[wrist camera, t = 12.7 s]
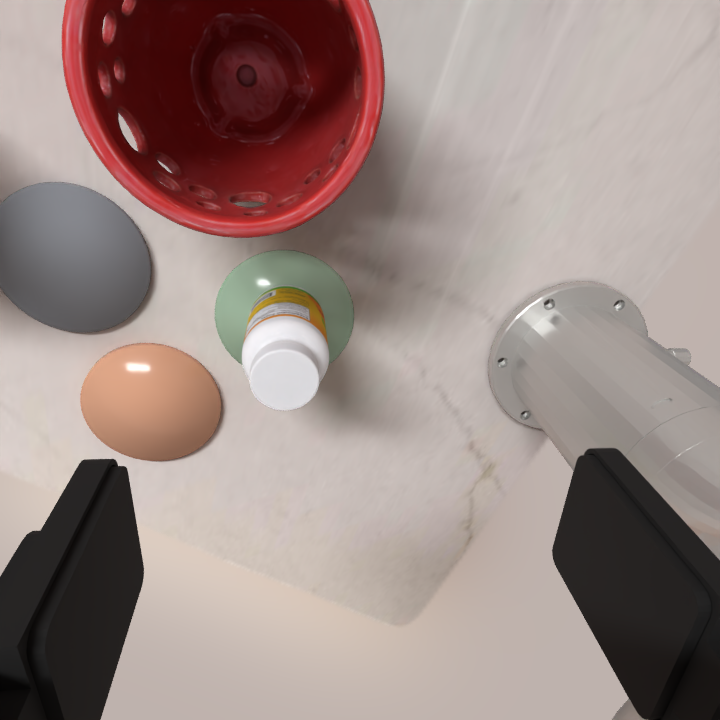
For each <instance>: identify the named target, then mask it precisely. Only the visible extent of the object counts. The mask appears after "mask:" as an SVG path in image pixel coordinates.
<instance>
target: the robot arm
mask: <svg viewBox="0 0 720 720" xmlns="http://www.w3.org/2000/svg"><path fill="white" fill-rule="evenodd" d="M546 300H547V302H545V301H546ZM500 358H501V359H500ZM499 359H500V360H499ZM690 362H691V354H690V352H689V351H688V350H687V349H665V348H664V347H662V346H661V345H660V344H658V343H657V342H655V341H654V340H653V339H651V338H650V337H648V331H647V328H646V324H645V320H644V318H643V316H642V314H641V312H640V311H639V309H638V307H637V306H636V305H635V304H634V303H633V302H632V301H631V300H630V299H629V298H628V297H626V296H625V295H623V294H622V293H620V292H619V291H617V290H615V289H613V288H611V287H609V286H607V285H604V284H599V283H595V282H580V281H576V282H570V283H564V284H559V285H557V286H554V287H551V288H548V289H545V290H543V291H542V292H540V293H538V294H536V295H534V296H533V297H531V298H529V299H528V300H527V301H526V302H524V303H523V304H522V305H520V306H519V307H518V308H517V309H516V310H515V311H514V312H513V313H512V314H511V315H510V316H509V317H508V319H507V320H506V321H505V323H504V324H503V326H502V327H501V329H500V330H499V332H498V333H497V336H496V338H495V340H494V343H493V345H492V347H491V352H490V356H489V361H488V376H489V381H490V386H491V389H492V391H493V393H494V395H495V397H496V399H497V400H498V402H499V403H500V405H501V406H502V408H503V409H504V410H505V411H506V412H507V413H508V414H509V415H510V416H511V417H512V418H514V419H515V420H517V421H518V422H520V423H522V424H525V425H528V426H530V427H533V428H539V429H543V430H544V432H545V433H546V434H547V436H548V437H549V438H550V440H551V441H552V442H553V444H554V445H555V446H556V448H557V449H558V450H559V452H560V453H561V454H562V456H563V457H564V459H565V460H566V461H567V463H568V464H569V465H570V467H571V468H572V469H573V471H574V472H573V476H572V479H571V483H570V487H569V490H568V494H567V497H566V501H565V505H564V508H563V512H562V516H561V519H560V523H559V527H558V530H557V534H556V538H555V541H554V545H553V550H552V552H553V560H554V562H555V565H556V567H557V569H558V571H559V573H560V575H561V576H562V578H563V580H564V582H565V584H566V585H567V587H568V589H569V591H570V593H571V594H572V596H573V598H574V600H575V602H576V603H577V605H578V607H579V609H580V611H581V612H582V614H583V616H584V618H585V620H586V622H587V623H588V625H589V627H590V629H591V630H592V632H593V634H594V636H595V638H596V640H597V641H598V643H599V645H600V647H601V649H602V650H603V652H604V654H605V656H606V657H607V659H608V661H609V663H610V665H611V667H612V668H613V670H614V672H615V674H616V676H617V677H618V679H619V681H620V683H621V685H622V686H623V688H624V690H625V692H626V693H627V696H628V697H629V699H628V700H627V701H626V702H625V703H624V705H623V706H622V707H621V708H620V709H619V710H618V711H617V713H616V714H615V716H614V717H613V719H612V720H720V387H718V386H717V385H715V384H714V383H712V382H711V381H709V380H708V379H707V378H705V377H704V376H702V375H701V374H699V373H698V372H696V371H695V370H694V369H692V368H690V367H689V366H688V365H689V363H690ZM143 576H144V567H143V560H142V554H141V548H140V542H139V536H138V530H137V524H136V518H135V512H134V506H133V500H132V494H131V488H130V482H129V476H128V471H127V468H126V467H125V466H118V464H117V462H116V460H114V459H90V460H83V461H81V463H80V464H79V466H78V467H77V469H76V471H75V472H74V474H73V476H72V478H71V479H70V481H69V483H68V484H67V486H66V488H65V490H64V491H63V493H62V495H61V496H60V498H59V500H58V502H57V503H56V505H55V507H54V509H53V510H52V512H51V514H50V516H49V517H48V519H47V521H46V522H45V524H44V526H43V527H42V529H41V531H32V532H30V533H29V534H27V535H26V537H25V538H24V539H23V540H22V542H21V544H20V545H19V547H18V548H17V550H16V552H15V553H14V555H13V557H12V558H11V560H10V562H9V563H8V565H7V567H6V568H5V570H4V572H3V573H2V575H1V576H0V720H100V719H101V716H102V713H103V710H104V706H105V703H106V700H107V697H108V693H109V690H110V687H111V684H112V681H113V677H114V674H115V671H116V668H117V664H118V661H119V658H120V655H121V652H122V648H123V645H124V642H125V638H126V635H127V632H128V629H129V626H130V622H131V619H132V616H133V613H134V609H135V606H136V603H137V600H138V597H139V593H140V590H141V587H142V583H143Z"/></svg>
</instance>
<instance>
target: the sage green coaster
mask: <svg viewBox="0 0 720 720" xmlns="http://www.w3.org/2000/svg"><path fill="white" fill-rule="evenodd" d="M279 285H293V286H297V287H300V288H303V289H305V290H307V291H308V292H310V293H311V294H312V295H313V296H314V297H315V298H316V299H317V300H318V302H319V303H320V305H321V307H322V310H323V313H324V318H325V326H326V333H327V341H328V348H329V364H330V363H332V362H333V361H334V360H335V359H336V358H337V357H338V356H339V355H340V353H341V352H342V351H343V349H344V348H345V346H346V344H347V343H348V340H349V338H350V335H351V332H352V328H353V322H354V309H353V303H352V299H351V296H350V293H349V291H348V289H347V287H346V285H345V283H344V282H343V280H342V279H341V277H340V276H339V275H338V274H337V273H336V272H335V271H334V270H333V269H332V268H331V267H330V266H329V265H327V264H326V263H324V262H323V261H321V260H319V259H317V258H315V257H313V256H311V255H308V254H305V253H302V252H297V251H290V250H275V251H269V252H264V253H261V254H258V255H255V256H253V257H251V258H249V259H247V260H246V261H244V262H242V263H241V264H240V265H238V266H237V267H236V268H235V269H234V270H233V271H232V272H231V273H230V274H229V275H228V276H227V278H226V279H225V281H224V283H223V284H222V286H221V288H220V290H219V293H218V296H217V299H216V305H215V322H216V328H217V331H218V334H219V337H220V339H221V341H222V343H223V345H224V346H225V348H226V350H227V351H228V352H229V353H230V354H231V356H232V357H233V358H234V359H235V360H237V361H238V362H239V363H240V364H241V365H242V348H243V343H244V338H245V333H246V328H247V323H248V318H249V313H250V310H251V307H252V305H253V303H254V302H255V300H256V299H257V297H258V296H259V295H260V294H262V293H263V292H264V291H266V290H268V289H270V288H272V287H275V286H279ZM329 364H328V365H329Z"/></svg>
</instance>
